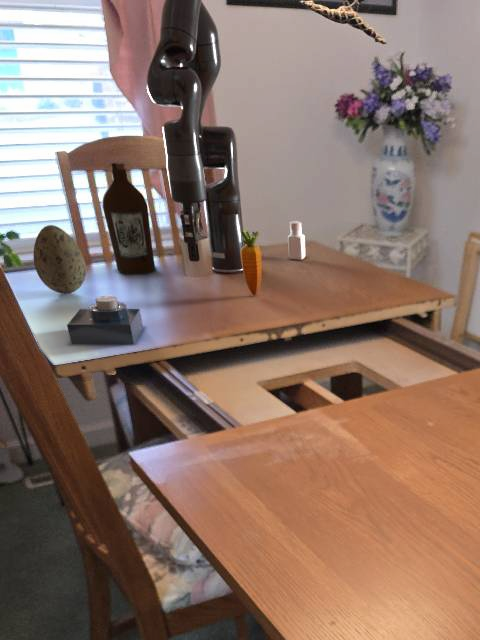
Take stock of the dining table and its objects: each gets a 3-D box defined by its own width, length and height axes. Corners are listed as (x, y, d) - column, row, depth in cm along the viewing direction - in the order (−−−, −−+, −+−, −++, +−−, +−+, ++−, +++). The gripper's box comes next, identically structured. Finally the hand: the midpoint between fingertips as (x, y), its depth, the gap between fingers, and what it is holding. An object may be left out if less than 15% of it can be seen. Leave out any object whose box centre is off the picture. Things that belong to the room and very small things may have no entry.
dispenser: (71, 344, 140) (64, 314, 137) (84, 327, 148) (77, 299, 145) (133, 344, 142) (128, 314, 138) (143, 327, 150) (137, 299, 146)
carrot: (267, 293, 173) (262, 227, 164) (261, 299, 169) (256, 232, 160) (247, 292, 173) (241, 226, 164) (241, 298, 169) (234, 231, 160)
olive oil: (114, 265, 188) (94, 160, 174) (156, 263, 191) (139, 159, 177) (115, 276, 180) (94, 166, 166) (158, 273, 183) (141, 166, 169)
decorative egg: (40, 301, 162) (22, 231, 153) (43, 287, 170) (26, 221, 161) (90, 298, 165) (75, 229, 156) (91, 285, 173) (77, 219, 164)
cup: (186, 269, 167) (181, 233, 162) (214, 269, 168) (210, 233, 163) (182, 277, 162) (177, 240, 157) (211, 277, 163) (206, 240, 158)
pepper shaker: (288, 259, 200) (286, 223, 194) (292, 256, 203) (290, 220, 197) (302, 260, 199) (300, 224, 194) (306, 257, 202) (304, 221, 197)
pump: (95, 311, 140) (92, 301, 139) (99, 305, 143) (97, 295, 142) (116, 311, 141) (113, 301, 139) (120, 305, 144) (118, 295, 143)
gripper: (199, 183, 147) (209, 265, 157) (207, 171, 159) (216, 248, 169) (162, 182, 147) (175, 265, 157) (173, 170, 158) (184, 248, 168)
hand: (196, 256), depth 163 cm, fingers closed on cup, 6 cm apart
